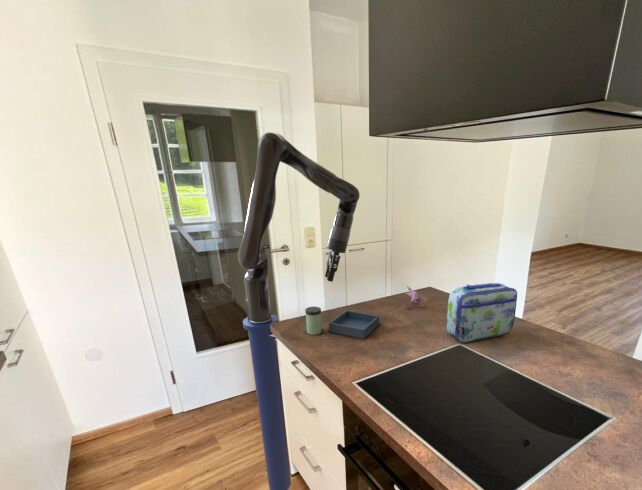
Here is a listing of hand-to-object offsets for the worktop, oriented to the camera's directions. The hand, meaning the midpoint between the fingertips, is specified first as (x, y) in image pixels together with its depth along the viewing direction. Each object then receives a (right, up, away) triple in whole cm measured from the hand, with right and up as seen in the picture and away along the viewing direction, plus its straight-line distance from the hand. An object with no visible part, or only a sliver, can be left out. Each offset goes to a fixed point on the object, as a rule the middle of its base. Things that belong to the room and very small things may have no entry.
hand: (328, 279), depth 142 cm
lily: (+38, -10, +28) cm, 48 cm away
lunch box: (+59, -23, -1) cm, 63 cm away
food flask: (-6, -21, +1) cm, 22 cm away
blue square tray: (+10, -19, +4) cm, 22 cm away
